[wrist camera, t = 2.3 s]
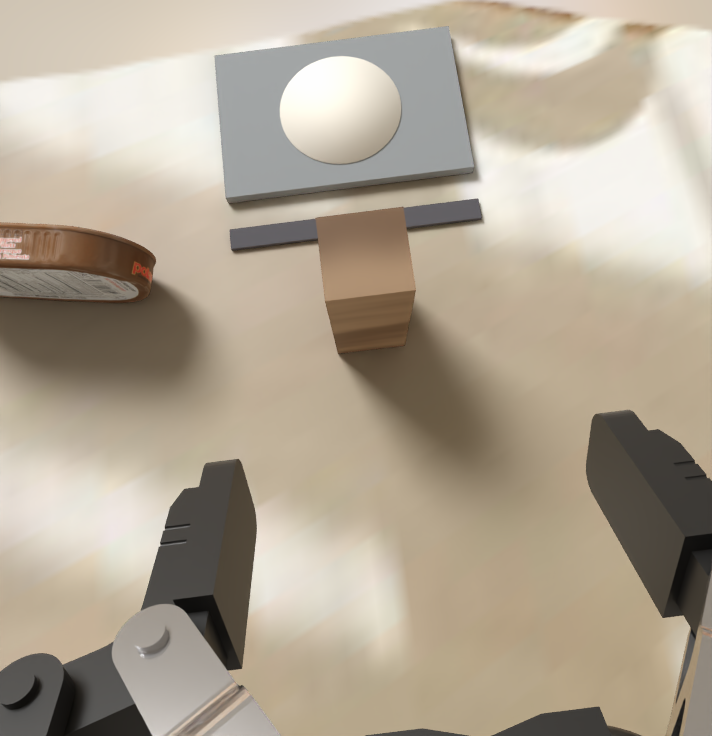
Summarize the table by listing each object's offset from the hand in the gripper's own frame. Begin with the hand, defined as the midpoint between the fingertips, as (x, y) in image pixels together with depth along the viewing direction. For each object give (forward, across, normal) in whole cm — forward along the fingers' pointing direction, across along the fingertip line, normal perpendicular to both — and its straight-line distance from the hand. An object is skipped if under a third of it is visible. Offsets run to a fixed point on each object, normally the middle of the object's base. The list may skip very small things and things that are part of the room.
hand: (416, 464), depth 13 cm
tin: (+30, +21, +6) cm, 37 cm away
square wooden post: (+26, 0, +10) cm, 28 cm away
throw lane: (+36, 0, 0) cm, 36 cm away
